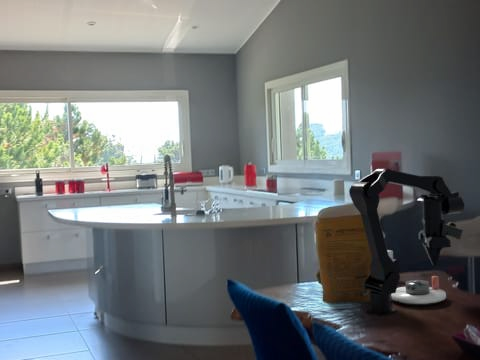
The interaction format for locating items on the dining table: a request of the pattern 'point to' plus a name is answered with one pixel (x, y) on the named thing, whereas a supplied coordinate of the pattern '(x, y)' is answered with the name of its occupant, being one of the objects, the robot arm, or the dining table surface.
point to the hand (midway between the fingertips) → (434, 266)
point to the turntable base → (418, 304)
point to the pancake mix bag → (343, 258)
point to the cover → (417, 287)
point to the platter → (432, 297)
